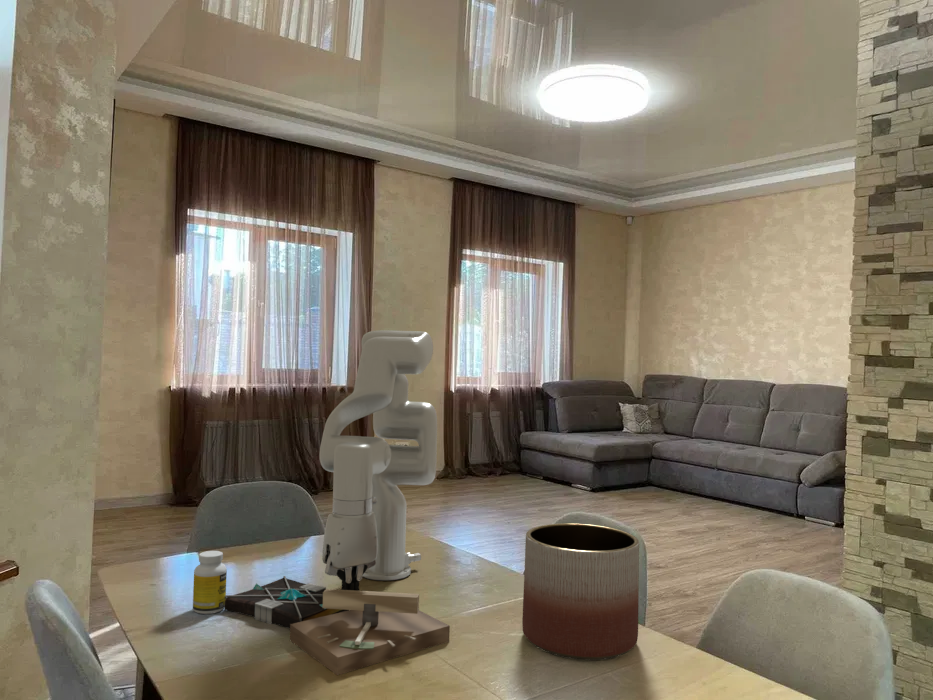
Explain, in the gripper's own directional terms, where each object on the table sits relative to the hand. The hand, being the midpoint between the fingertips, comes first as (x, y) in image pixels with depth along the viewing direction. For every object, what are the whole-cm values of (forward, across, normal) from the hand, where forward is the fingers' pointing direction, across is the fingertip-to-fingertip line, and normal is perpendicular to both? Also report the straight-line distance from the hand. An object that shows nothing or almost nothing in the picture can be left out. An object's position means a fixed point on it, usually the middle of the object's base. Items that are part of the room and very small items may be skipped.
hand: (350, 600), depth 138 cm
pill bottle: (+7, +17, -28) cm, 33 cm away
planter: (+7, -34, +29) cm, 45 cm away
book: (+7, +3, -18) cm, 20 cm away
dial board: (+6, -1, +6) cm, 8 cm away
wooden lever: (+3, +2, +9) cm, 10 cm away
